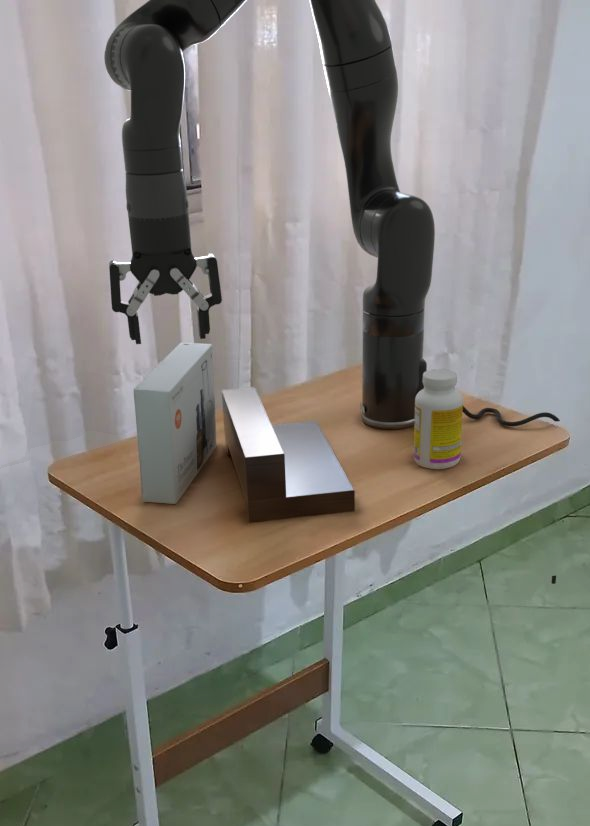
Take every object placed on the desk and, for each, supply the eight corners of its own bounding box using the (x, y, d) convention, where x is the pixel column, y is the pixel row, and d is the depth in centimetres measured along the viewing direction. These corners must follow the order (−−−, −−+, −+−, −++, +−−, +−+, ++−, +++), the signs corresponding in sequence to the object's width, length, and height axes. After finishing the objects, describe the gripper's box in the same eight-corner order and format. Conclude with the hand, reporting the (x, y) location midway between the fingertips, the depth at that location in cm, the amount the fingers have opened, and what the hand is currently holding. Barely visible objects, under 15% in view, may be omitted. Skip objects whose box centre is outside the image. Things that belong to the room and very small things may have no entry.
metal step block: (316, 438, 156) (315, 381, 151) (354, 511, 135) (354, 446, 130) (225, 447, 154) (221, 389, 149) (249, 522, 133) (245, 457, 128)
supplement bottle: (469, 460, 147) (474, 372, 140) (441, 475, 143) (445, 385, 136) (431, 449, 151) (435, 363, 144) (403, 463, 147) (406, 375, 140)
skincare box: (180, 506, 138) (168, 391, 129) (141, 503, 139) (127, 389, 130) (221, 446, 155) (213, 341, 146) (186, 444, 156) (176, 340, 147)
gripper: (211, 201, 132) (220, 328, 141) (99, 208, 130) (115, 336, 139) (218, 211, 126) (226, 343, 134) (100, 219, 124) (117, 352, 132)
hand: (170, 340), depth 136 cm, fingers open, 8 cm apart
